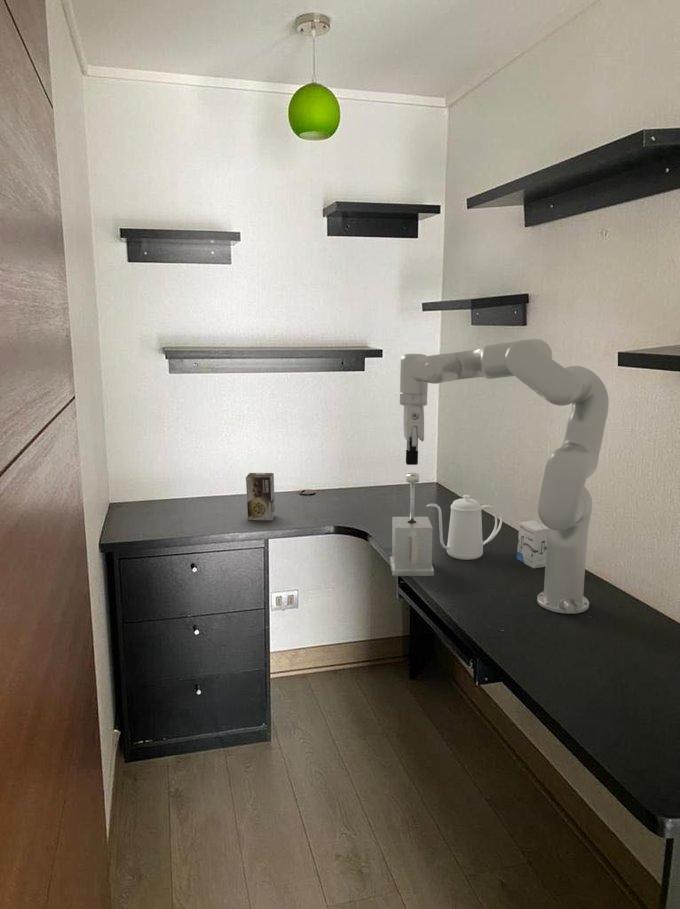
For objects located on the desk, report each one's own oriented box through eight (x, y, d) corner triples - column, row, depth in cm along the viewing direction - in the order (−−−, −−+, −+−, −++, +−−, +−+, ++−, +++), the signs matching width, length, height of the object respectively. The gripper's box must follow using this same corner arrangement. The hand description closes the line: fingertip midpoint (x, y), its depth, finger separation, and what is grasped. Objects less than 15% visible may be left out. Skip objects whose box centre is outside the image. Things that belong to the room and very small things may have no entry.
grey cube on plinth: (435, 579, 191) (436, 531, 189) (393, 579, 191) (393, 531, 189) (428, 561, 205) (429, 516, 202) (389, 561, 205) (390, 516, 202)
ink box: (515, 559, 207) (517, 521, 204) (529, 556, 208) (531, 519, 206) (533, 568, 199) (535, 530, 196) (547, 566, 200) (550, 528, 198)
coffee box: (275, 515, 251) (274, 472, 248) (272, 520, 245) (270, 476, 242) (251, 515, 252) (249, 472, 249) (247, 520, 246) (245, 476, 243)
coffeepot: (418, 552, 212) (419, 493, 208) (491, 545, 219) (494, 487, 215) (432, 565, 202) (433, 503, 198) (508, 556, 209) (511, 496, 205)
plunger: (425, 539, 194) (426, 477, 190) (400, 539, 194) (401, 477, 190) (422, 531, 201) (423, 471, 197) (398, 531, 201) (399, 471, 197)
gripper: (430, 403, 182) (428, 470, 186) (423, 395, 197) (421, 458, 201) (402, 403, 182) (400, 470, 186) (397, 395, 197) (396, 458, 201)
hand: (411, 464), depth 193 cm, fingers closed
